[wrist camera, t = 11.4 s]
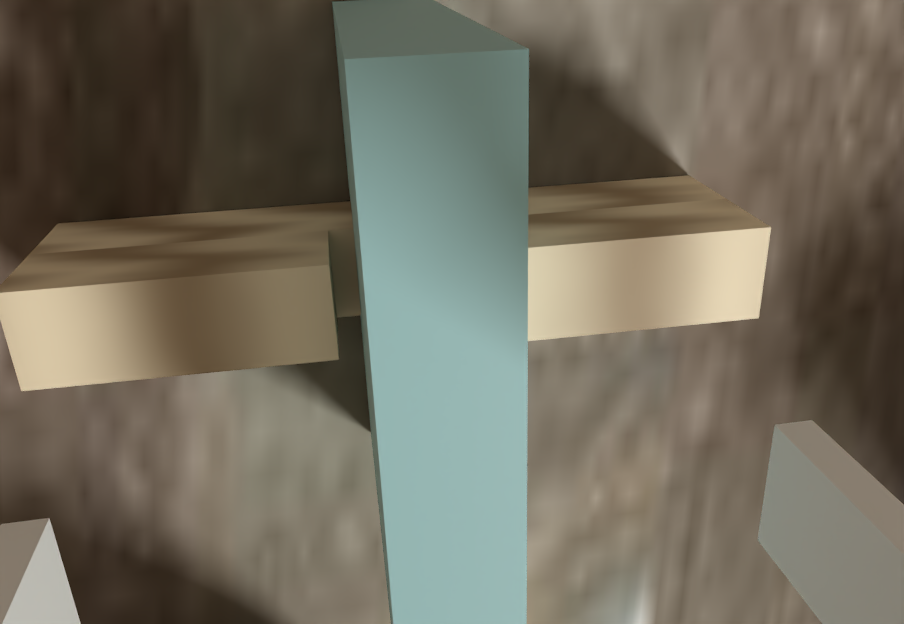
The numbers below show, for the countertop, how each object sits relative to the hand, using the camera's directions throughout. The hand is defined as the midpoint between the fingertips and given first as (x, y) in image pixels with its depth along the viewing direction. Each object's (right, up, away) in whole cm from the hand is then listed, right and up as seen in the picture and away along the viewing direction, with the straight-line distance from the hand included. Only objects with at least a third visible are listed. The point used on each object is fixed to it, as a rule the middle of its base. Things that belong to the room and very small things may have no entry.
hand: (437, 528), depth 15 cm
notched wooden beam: (-2, +7, +14) cm, 16 cm away
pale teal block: (-2, +7, +14) cm, 16 cm away
